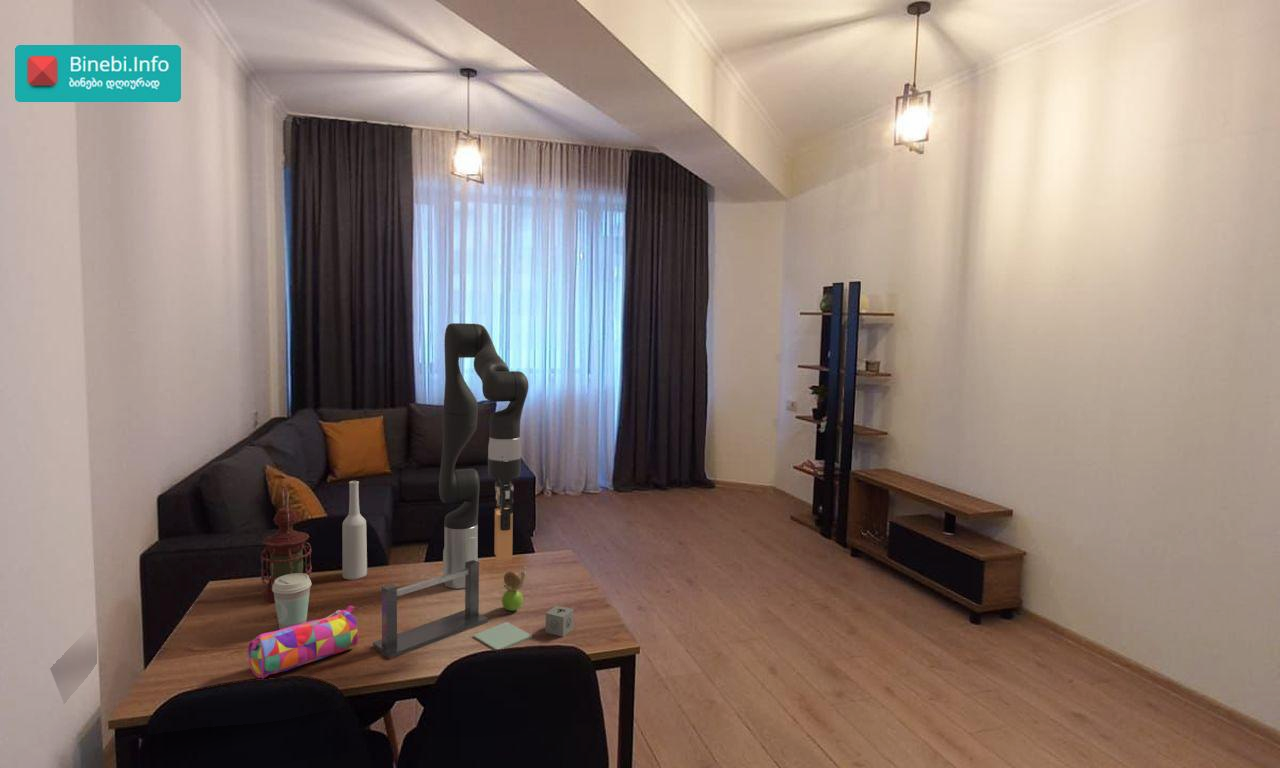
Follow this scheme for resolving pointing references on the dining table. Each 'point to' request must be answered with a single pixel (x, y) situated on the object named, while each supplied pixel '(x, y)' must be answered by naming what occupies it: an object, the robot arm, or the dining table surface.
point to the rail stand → (436, 629)
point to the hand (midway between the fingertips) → (503, 525)
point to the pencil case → (302, 643)
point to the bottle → (354, 539)
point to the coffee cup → (291, 599)
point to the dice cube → (559, 620)
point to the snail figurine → (513, 590)
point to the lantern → (284, 549)
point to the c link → (503, 538)
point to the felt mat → (502, 636)
